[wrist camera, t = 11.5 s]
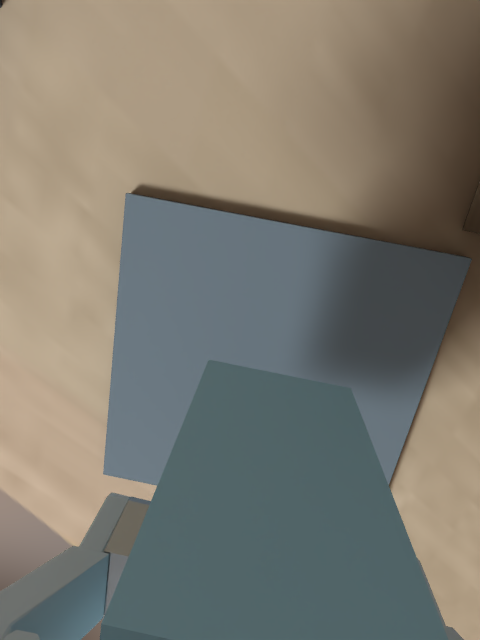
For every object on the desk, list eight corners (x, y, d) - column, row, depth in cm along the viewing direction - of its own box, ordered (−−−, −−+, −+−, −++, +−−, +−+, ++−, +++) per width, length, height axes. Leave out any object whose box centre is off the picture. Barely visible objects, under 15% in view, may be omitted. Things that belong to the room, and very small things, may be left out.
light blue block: (208, 359, 12) (101, 624, 5) (350, 388, 12) (474, 706, 5) (183, 509, 14) (77, 871, 7) (306, 535, 14) (342, 934, 6)
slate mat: (130, 193, 16) (125, 193, 16) (466, 256, 16) (471, 258, 16) (107, 467, 21) (103, 474, 20) (369, 522, 20) (372, 529, 20)
